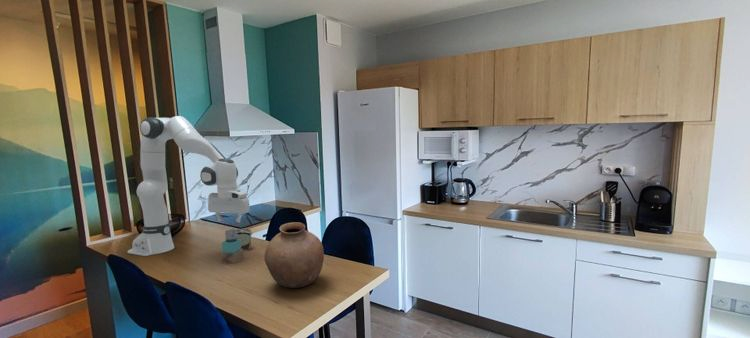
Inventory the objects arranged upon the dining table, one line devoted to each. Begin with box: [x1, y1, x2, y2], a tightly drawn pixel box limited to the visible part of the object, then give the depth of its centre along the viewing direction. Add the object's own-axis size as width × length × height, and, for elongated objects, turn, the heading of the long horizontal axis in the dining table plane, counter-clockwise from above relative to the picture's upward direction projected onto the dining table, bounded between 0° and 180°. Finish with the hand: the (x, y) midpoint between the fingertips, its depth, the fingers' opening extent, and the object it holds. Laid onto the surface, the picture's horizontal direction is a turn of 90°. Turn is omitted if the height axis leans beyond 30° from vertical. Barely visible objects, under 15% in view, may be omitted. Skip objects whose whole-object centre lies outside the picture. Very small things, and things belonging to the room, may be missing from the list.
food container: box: [236, 228, 253, 251], centre depth 190 cm, size 12×6×10 cm, turn 84°
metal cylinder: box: [224, 228, 237, 242], centre depth 172 cm, size 5×5×5 cm
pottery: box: [264, 221, 325, 289], centre depth 143 cm, size 23×23×25 cm
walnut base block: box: [220, 249, 244, 265], centre depth 173 cm, size 7×7×5 cm
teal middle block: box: [221, 239, 241, 253], centre depth 172 cm, size 6×6×5 cm
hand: (229, 221), depth 171 cm, fingers open, 8 cm apart
